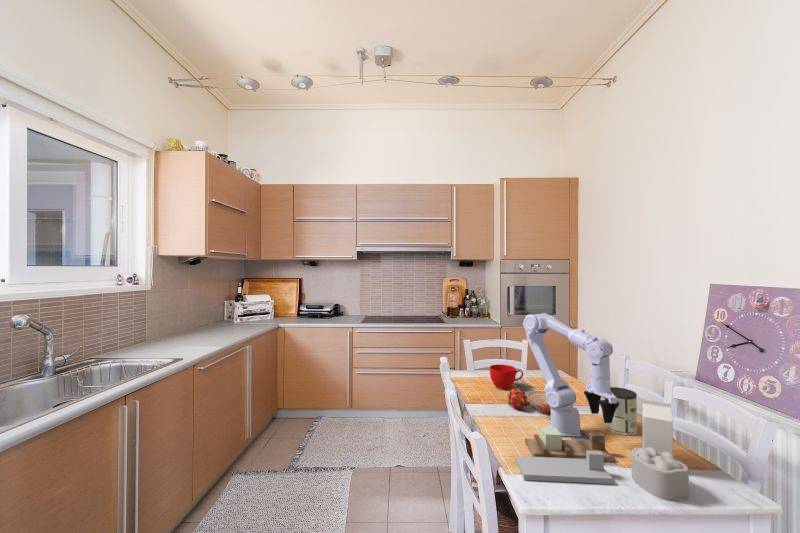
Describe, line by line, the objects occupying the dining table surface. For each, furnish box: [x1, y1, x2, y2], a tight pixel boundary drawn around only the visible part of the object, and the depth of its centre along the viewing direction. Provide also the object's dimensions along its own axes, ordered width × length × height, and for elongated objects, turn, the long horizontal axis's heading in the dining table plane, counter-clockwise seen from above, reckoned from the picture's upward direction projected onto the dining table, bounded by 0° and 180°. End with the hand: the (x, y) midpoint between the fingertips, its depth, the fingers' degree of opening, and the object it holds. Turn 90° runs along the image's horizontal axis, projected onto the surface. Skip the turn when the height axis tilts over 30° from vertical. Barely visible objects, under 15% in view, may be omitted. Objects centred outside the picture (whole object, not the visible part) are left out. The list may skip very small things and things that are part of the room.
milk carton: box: [641, 398, 674, 456], centre depth 107 cm, size 7×7×19 cm
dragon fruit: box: [507, 388, 531, 411], centre depth 151 cm, size 8×8×12 cm
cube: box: [540, 427, 563, 451], centre depth 114 cm, size 5×5×5 cm
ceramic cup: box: [489, 364, 524, 390], centre depth 178 cm, size 13×17×10 cm
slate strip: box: [514, 451, 614, 485], centre depth 102 cm, size 24×10×6 cm, turn 85°
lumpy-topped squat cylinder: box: [631, 446, 690, 502], centre depth 96 cm, size 10×13×9 cm
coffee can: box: [604, 386, 638, 436], centre depth 131 cm, size 10×10×14 cm
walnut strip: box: [524, 432, 614, 463], centre depth 114 cm, size 24×10×6 cm, turn 85°
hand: (601, 417), depth 116 cm, fingers open, 7 cm apart
